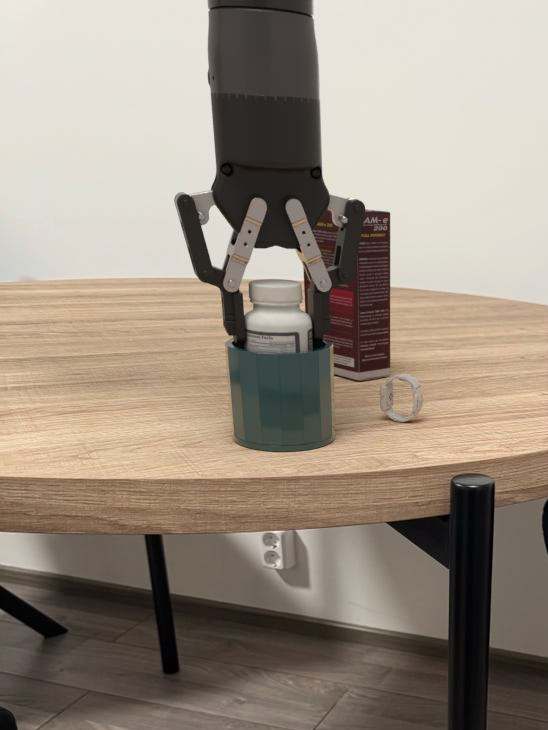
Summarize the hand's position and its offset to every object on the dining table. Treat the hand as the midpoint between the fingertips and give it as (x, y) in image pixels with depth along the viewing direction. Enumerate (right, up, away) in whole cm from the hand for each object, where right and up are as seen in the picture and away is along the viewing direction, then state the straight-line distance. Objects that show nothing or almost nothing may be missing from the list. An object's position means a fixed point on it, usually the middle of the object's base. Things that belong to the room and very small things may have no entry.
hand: (278, 340), depth 74 cm
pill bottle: (0, -5, +3) cm, 6 cm away
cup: (0, -7, +4) cm, 8 cm away
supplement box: (+2, +5, +26) cm, 27 cm away
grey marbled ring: (+9, -4, +10) cm, 14 cm away
